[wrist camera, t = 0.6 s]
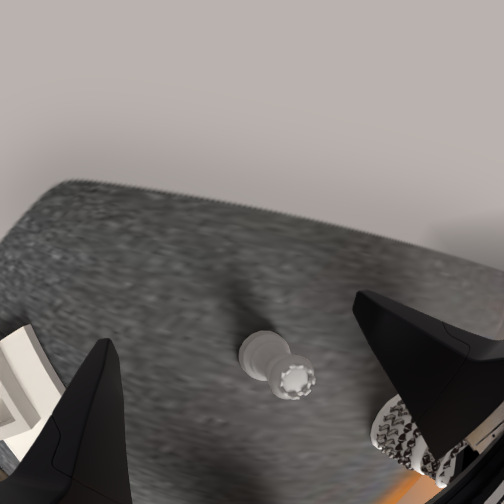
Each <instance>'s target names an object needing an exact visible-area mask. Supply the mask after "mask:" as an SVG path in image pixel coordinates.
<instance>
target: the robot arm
mask: <svg viewBox="0 0 504 504" xmlns="http://www.w3.org/2000/svg"><path fill="white" fill-rule="evenodd" d="M353 313H354V316H355V318H356V320H357V322H358V324H359V326H360V328H361V330H362V332H363V334H364V336H365V338H366V340H367V342H368V344H369V346H370V347H371V349H372V351H373V352H374V354H375V355H376V357H377V359H378V360H379V362H380V364H381V365H382V367H383V369H384V370H385V372H386V374H387V375H388V377H389V379H390V380H391V382H392V384H393V385H394V387H395V389H396V391H397V392H398V394H399V396H400V397H401V399H402V401H403V403H404V404H405V406H406V408H407V410H408V412H409V413H410V415H411V417H412V419H413V420H414V422H415V424H416V426H417V428H418V430H419V432H420V433H421V435H422V437H423V439H424V441H425V443H426V445H427V446H428V448H429V450H430V452H431V454H432V456H433V458H434V459H435V461H437V460H438V459H440V458H441V457H442V456H444V455H445V454H446V453H448V452H449V451H450V450H452V449H453V448H454V447H455V446H457V445H458V444H459V443H460V442H461V441H463V440H464V439H465V440H466V442H467V443H468V444H467V445H466V446H465V447H464V448H463V449H462V450H461V451H460V452H459V453H457V454H456V462H455V469H454V475H453V479H454V480H453V481H452V482H451V483H450V484H449V485H447V486H446V487H445V488H444V489H443V490H441V492H439V493H438V494H437V495H435V496H434V497H433V498H432V499H430V500H429V501H428V502H426V503H425V504H501V503H502V502H503V501H504V340H491V339H488V338H485V337H482V336H479V335H476V334H473V333H471V332H468V331H465V330H462V329H460V328H457V327H455V326H452V325H450V324H447V323H445V322H443V321H442V322H441V321H440V320H438V319H436V318H434V317H431V316H429V315H427V314H424V313H422V312H420V311H417V310H415V309H413V308H410V307H408V306H406V305H403V304H401V303H398V302H396V301H394V300H391V299H389V298H387V297H384V296H382V295H380V294H377V293H375V292H373V291H370V290H368V289H365V290H361V291H358V292H357V294H356V297H355V301H354V304H353ZM0 504H132V497H131V490H130V483H129V475H128V466H127V455H126V442H125V424H124V399H123V391H122V383H121V373H120V363H119V357H118V354H117V352H116V349H115V347H114V345H113V343H112V341H111V339H109V338H105V339H99V340H98V341H97V342H96V344H95V345H94V347H93V348H92V350H91V351H90V353H89V354H88V356H87V357H86V359H85V360H84V362H83V363H82V365H81V366H80V368H79V369H78V371H77V372H76V374H75V376H74V377H73V379H72V380H71V382H70V383H69V385H68V387H67V388H66V390H65V392H64V393H63V395H62V396H61V398H60V400H59V401H58V403H57V405H56V406H55V408H54V410H53V412H52V415H50V417H49V418H48V420H47V422H46V424H45V425H44V427H43V429H42V430H41V432H40V434H39V435H38V437H37V438H36V440H35V441H34V443H33V444H32V446H31V447H30V449H29V450H28V452H27V453H26V454H25V456H24V457H23V459H22V460H21V462H20V463H19V465H18V466H17V468H16V469H15V471H14V472H13V473H12V474H11V475H10V476H9V477H8V478H6V479H4V480H2V481H0Z"/></svg>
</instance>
